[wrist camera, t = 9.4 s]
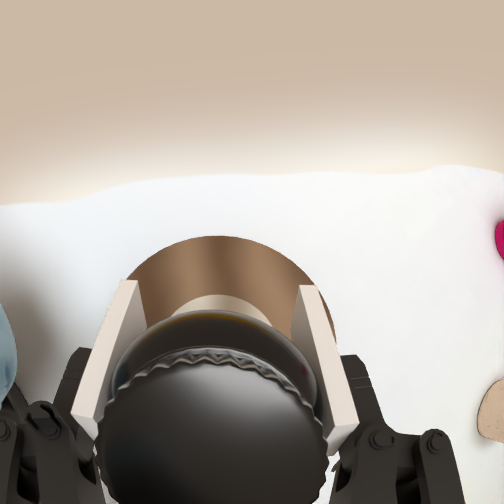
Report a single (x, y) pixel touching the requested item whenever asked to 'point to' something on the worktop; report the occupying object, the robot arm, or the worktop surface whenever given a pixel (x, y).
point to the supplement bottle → (212, 416)
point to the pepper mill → (500, 238)
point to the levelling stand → (221, 281)
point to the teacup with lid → (492, 413)
